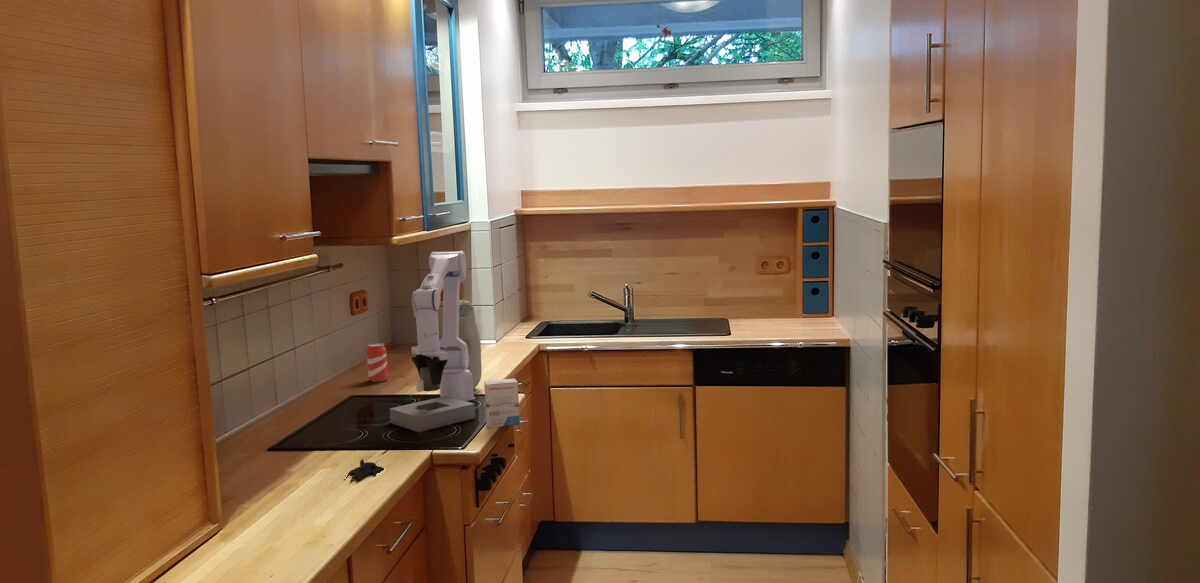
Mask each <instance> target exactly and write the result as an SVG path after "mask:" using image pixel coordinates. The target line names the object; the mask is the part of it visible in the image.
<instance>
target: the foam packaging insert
mask: <svg viewBox="0 0 1200 583" xmlns="http://www.w3.org/2000/svg"><path fill="white" fill-rule="evenodd" d="M389 419H390V420H389V421H390V424H392V425H396V426H399V427H401V428H405V429H407V430H411V431H414V432H416V433H421V432H425V431H429V430H433V429H437V428H441V427H446V426H449V425H453V424H457V423H461V422H465V421H469V420H473V419H476V405H475V402H474V403H473V402H469V401H463V400H459V399H455V398H452V397H448V396H443V397H440V396H439V397H435V398H430V399H426V400H422V401H417V402H413V403H409V404H405V405H399V406H396V407H391V408H389Z"/></svg>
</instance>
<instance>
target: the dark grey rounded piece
mask: <svg viewBox="0 0 1200 583" xmlns="http://www.w3.org/2000/svg"><path fill="white" fill-rule="evenodd" d="M420 376H421V379H417V380H415V386H416V387H415V389H416V392H417V393H421V392H435V391H440V384H438V385H433V384H432V380H431V373H430V369H429V367H428V366H422V367H420ZM420 376H419V377H420Z"/></svg>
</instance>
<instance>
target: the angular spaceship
mask: <svg viewBox="0 0 1200 583" xmlns="http://www.w3.org/2000/svg"><path fill="white" fill-rule="evenodd" d="M380 460H381V458H379V459H378V460H377V461H376V462H373V461H370V462H369V461H368V462H365V461H364V458H362V459H361V460H360V461H359V466H358V467H354V468H353V469H354V470H353V469H351V470H349V471H350V472H349V471H348V472H349V473H348V472H347V473H348V475H347V477H348V476H349V475H350V476H351V480H350V482H349V483H352V482H353V481H354V483H355V482H356V483H358V482H359V481H361V480H362V478H364V477H365V478H366V477H368V476H369V475H370V474H371V475H372V474H373V475H374V476H375V475H376V474H377V473H380V472H381V471H383V470H384V467H383V466H378V465H377V463H378V462H379V461H380ZM367 475H368V476H367ZM350 476H349V477H350ZM347 477H346V478H347ZM349 477H348V478H349ZM348 478H347V479H348ZM365 478H364V479H365Z"/></svg>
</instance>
